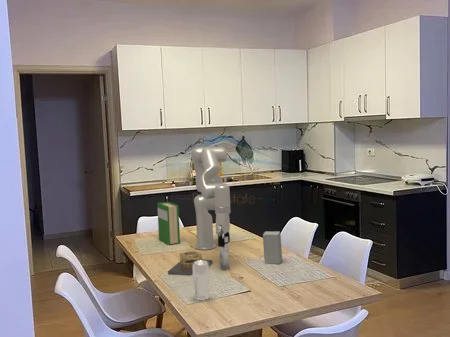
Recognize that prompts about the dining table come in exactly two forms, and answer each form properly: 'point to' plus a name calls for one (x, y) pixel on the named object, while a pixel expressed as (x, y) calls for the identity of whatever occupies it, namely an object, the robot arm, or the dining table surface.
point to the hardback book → (168, 223)
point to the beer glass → (201, 279)
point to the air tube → (224, 255)
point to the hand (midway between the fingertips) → (224, 244)
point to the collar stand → (187, 263)
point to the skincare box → (272, 247)
